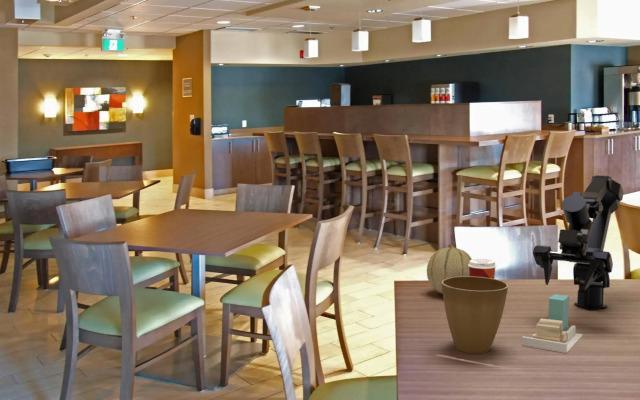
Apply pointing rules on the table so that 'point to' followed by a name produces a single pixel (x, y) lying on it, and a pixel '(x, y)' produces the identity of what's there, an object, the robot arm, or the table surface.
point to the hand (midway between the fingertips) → (565, 286)
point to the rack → (552, 345)
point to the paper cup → (482, 268)
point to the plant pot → (474, 311)
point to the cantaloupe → (447, 266)
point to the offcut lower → (560, 339)
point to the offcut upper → (549, 328)
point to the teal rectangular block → (559, 309)
